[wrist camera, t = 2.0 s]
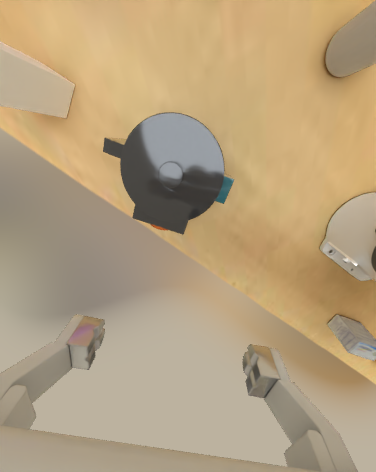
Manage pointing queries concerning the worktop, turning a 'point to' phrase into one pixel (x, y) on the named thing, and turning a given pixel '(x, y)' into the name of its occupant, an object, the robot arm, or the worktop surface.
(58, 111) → the milk
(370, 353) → the medicine box
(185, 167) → the jug
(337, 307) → the worktop surface
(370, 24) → the beverage can
